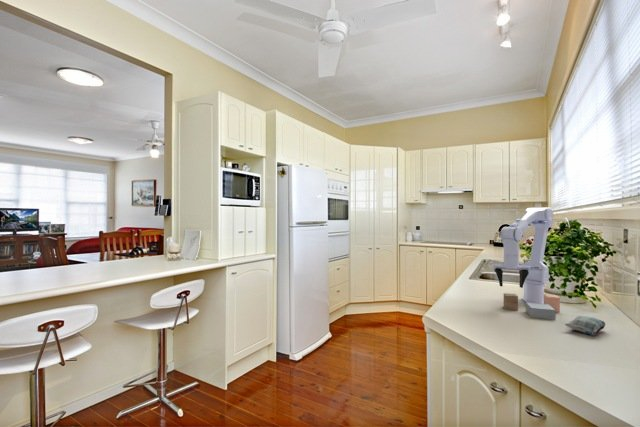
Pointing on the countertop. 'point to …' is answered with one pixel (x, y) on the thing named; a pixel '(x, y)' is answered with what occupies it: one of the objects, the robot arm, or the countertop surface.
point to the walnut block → (510, 301)
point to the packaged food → (586, 325)
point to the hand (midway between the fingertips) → (511, 286)
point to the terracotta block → (552, 301)
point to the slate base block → (540, 310)
